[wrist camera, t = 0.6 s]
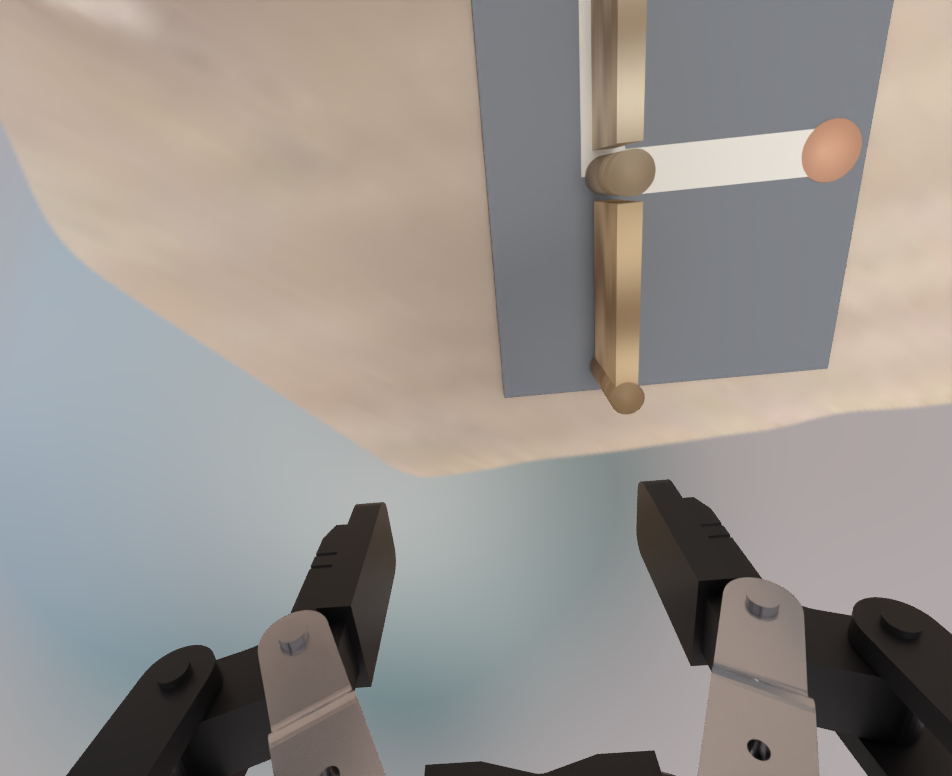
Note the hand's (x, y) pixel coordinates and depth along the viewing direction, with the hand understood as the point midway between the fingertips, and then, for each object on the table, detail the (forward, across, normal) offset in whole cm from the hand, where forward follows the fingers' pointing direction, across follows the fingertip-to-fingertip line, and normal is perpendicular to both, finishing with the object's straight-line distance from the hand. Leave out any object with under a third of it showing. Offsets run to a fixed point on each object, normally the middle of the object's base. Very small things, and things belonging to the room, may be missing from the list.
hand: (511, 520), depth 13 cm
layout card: (+20, -11, -8) cm, 24 cm away
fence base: (+19, -7, -14) cm, 25 cm away
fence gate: (+19, -7, -1) cm, 20 cm away
